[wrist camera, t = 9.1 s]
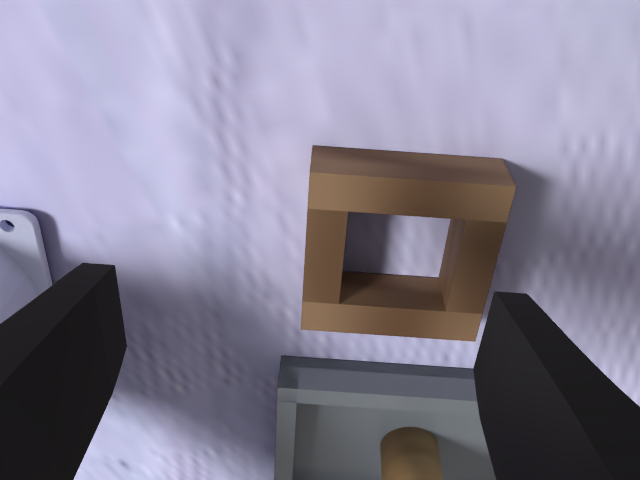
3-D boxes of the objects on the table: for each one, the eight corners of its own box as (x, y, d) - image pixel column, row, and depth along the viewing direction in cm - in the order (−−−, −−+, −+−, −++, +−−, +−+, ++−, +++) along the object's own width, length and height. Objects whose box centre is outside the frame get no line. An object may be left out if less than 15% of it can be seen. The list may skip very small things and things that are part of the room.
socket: (303, 295, 24) (300, 329, 22) (312, 145, 21) (309, 172, 19) (466, 306, 24) (475, 341, 22) (502, 158, 21) (516, 186, 19)
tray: (276, 487, 31) (273, 520, 29) (281, 356, 26) (277, 387, 24) (514, 503, 31) (523, 538, 29) (564, 375, 26) (577, 408, 24)
